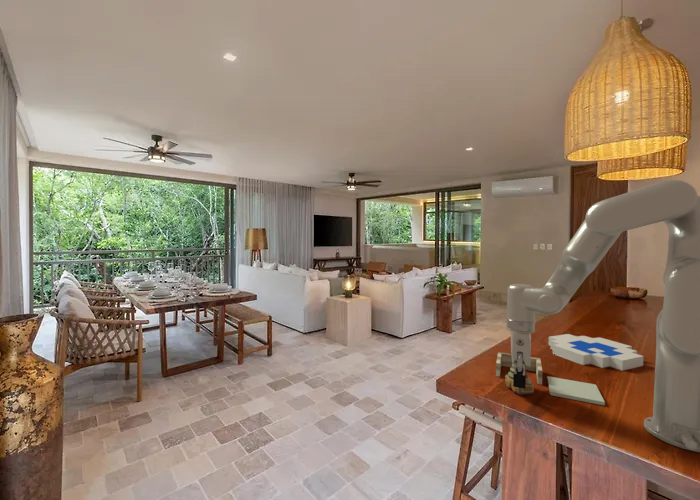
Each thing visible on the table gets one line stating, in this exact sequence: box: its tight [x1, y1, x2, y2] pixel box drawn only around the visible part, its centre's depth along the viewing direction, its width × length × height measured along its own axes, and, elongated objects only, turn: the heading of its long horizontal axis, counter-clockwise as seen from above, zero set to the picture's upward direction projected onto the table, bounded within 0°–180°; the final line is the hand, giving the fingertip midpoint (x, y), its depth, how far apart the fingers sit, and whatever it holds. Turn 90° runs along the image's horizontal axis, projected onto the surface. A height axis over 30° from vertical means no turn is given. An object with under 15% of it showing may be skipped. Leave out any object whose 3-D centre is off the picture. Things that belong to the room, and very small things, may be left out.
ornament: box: [504, 362, 535, 395], centre depth 99 cm, size 8×6×10 cm
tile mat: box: [546, 375, 606, 406], centre depth 99 cm, size 12×13×1 cm
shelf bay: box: [495, 351, 543, 385], centre depth 112 cm, size 12×13×4 cm
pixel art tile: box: [548, 333, 645, 371], centre depth 129 cm, size 28×4×28 cm
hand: (519, 381), depth 100 cm, fingers closed on ornament, 8 cm apart
